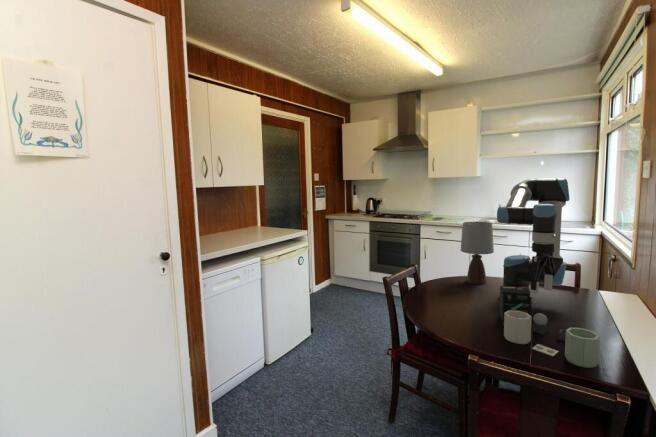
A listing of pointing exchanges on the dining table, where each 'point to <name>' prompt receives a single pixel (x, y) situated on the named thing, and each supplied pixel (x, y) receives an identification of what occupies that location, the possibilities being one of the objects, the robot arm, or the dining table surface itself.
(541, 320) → the grey ball
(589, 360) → the beaker sage
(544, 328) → the cradle grey
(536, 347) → the card
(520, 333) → the beaker cream
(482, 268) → the lamp
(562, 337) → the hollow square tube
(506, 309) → the tampon box
